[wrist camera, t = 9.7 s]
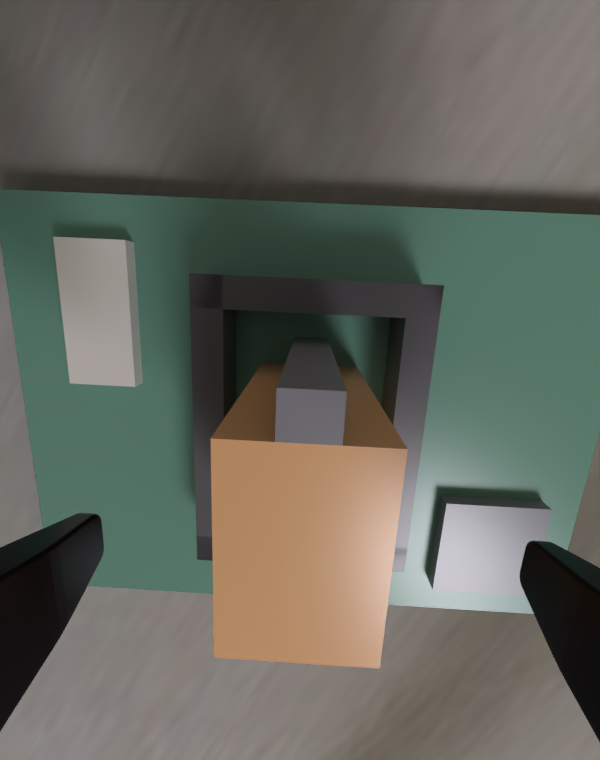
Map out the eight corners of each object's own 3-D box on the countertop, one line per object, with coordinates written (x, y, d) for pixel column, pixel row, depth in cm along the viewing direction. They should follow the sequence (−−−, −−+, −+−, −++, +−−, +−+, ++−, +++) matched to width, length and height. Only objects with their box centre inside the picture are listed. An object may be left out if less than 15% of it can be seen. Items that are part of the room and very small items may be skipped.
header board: (66, 566, 17) (14, 624, 14) (16, 196, 13) (-69, 168, 10) (536, 595, 16) (584, 661, 13) (629, 223, 13) (726, 202, 10)
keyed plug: (260, 484, 14) (214, 657, 8) (263, 335, 13) (210, 384, 6) (346, 489, 14) (379, 668, 7) (359, 340, 13) (414, 395, 6)
